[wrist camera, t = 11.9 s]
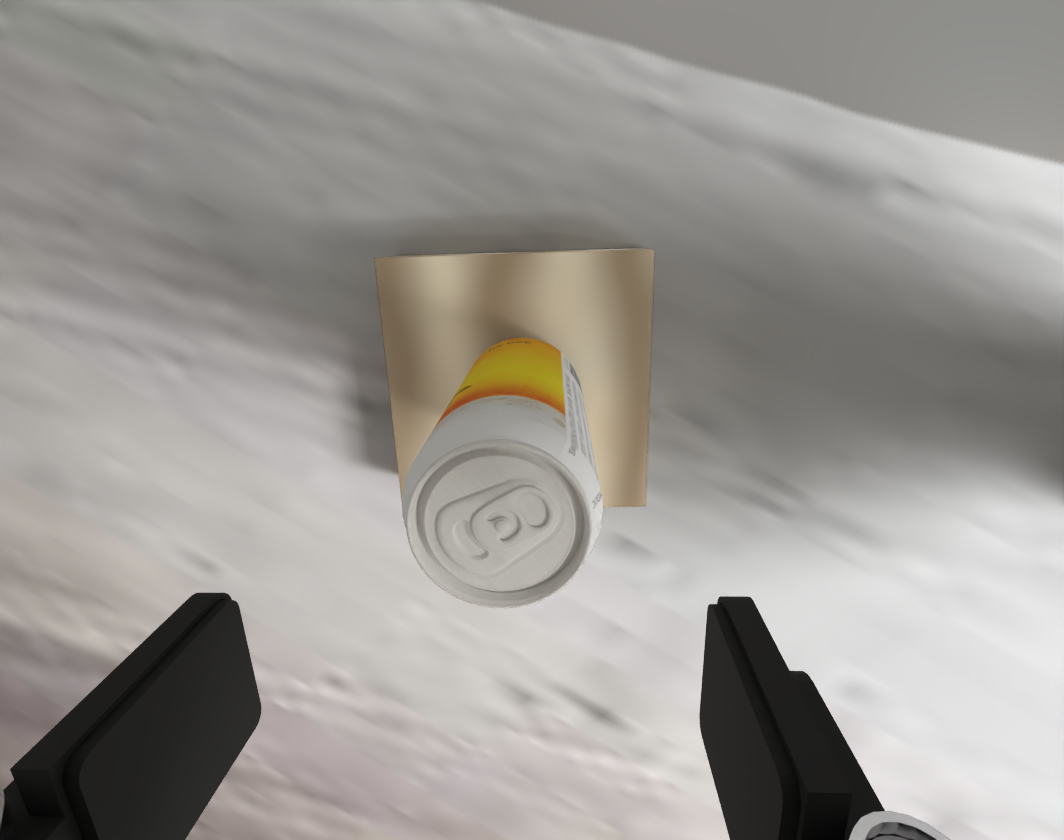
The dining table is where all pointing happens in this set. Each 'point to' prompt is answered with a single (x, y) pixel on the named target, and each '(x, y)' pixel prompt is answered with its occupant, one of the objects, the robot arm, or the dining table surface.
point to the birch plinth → (525, 312)
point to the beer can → (507, 481)
